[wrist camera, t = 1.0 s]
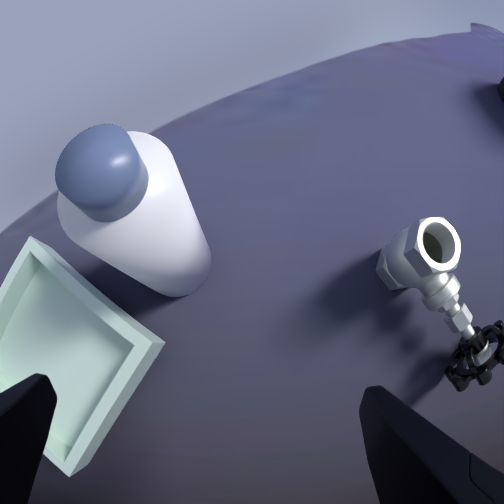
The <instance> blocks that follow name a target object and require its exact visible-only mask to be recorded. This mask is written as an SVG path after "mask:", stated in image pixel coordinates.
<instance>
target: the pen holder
mask: <svg viewBox="0 0 504 504" xmlns="http://www.w3.org/2000/svg"><path fill="white" fill-rule="evenodd" d="M499 93H500V96H501V98H502V100H503V102H504V77H503V79H502V80H501V82H500V84H499Z"/></svg>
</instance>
